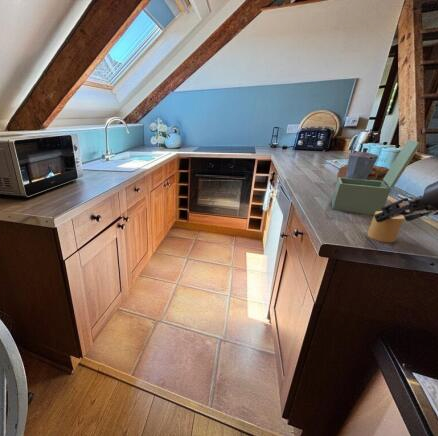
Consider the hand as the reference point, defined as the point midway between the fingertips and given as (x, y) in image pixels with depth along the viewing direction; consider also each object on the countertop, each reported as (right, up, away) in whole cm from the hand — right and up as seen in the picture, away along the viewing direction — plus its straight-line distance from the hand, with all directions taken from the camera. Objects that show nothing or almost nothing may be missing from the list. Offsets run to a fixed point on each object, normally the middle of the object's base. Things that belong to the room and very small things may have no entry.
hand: (391, 218), depth 66 cm
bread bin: (+11, +4, +25) cm, 28 cm away
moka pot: (+22, +11, +41) cm, 48 cm away
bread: (+39, +16, +54) cm, 69 cm away
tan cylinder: (0, -5, +3) cm, 6 cm away
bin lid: (+18, +19, +15) cm, 30 cm away
